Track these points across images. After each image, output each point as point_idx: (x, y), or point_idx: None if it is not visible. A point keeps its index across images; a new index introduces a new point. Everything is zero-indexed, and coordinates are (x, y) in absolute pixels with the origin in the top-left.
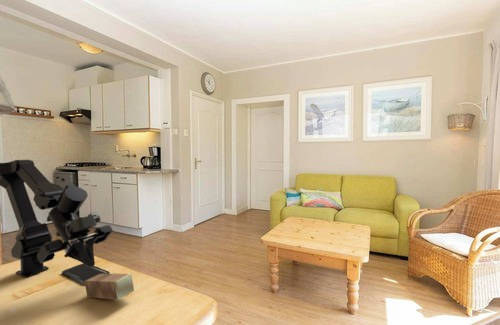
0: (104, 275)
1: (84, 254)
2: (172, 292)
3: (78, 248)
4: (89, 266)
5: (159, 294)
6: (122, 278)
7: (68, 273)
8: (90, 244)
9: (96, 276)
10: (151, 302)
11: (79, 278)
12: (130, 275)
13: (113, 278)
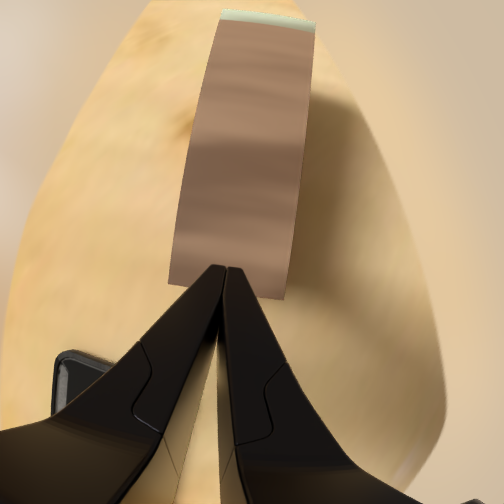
0: (208, 196)
1: (281, 371)
2: (158, 17)
3: (361, 480)
4: None
5: (175, 36)
6: (277, 17)
7: None
8: (88, 448)
9: (216, 263)
10: None
11: None
12: (230, 11)
13: (271, 70)
